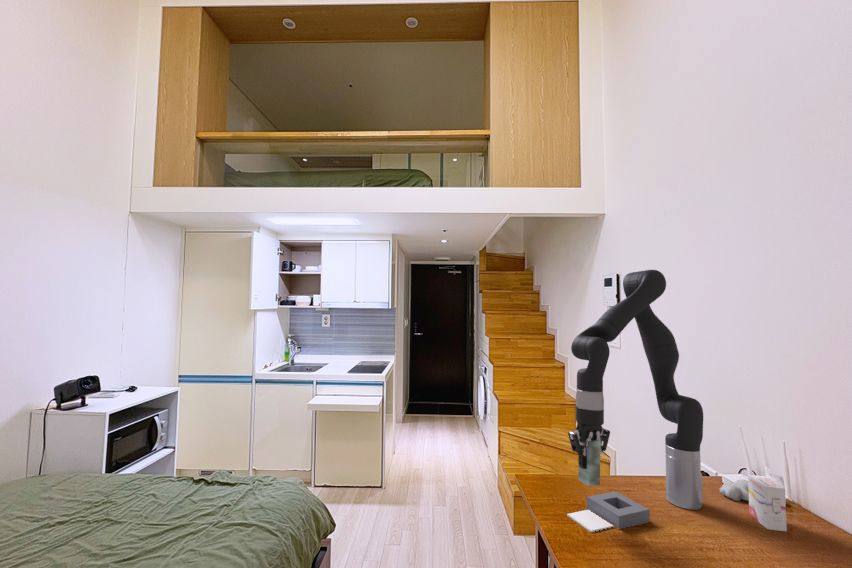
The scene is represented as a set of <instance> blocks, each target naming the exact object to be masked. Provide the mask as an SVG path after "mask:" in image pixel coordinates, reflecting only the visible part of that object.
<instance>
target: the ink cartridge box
mask: <svg viewBox="0 0 852 568" xmlns="http://www.w3.org/2000/svg"><path fill="white" fill-rule="evenodd" d="M764 474H765V476H764V475H756V474H747V481H748V488H749V501H748V513H749V515H750V517H752V518H754V520H755V521H757V522H758V523H760V524H761V525H762V527H764V528H765V529H767V530H770V531H771V530H772V531H779V532H787V531H788V530H787V529H788V527H787V510H786V507H787V504H786V489H785V483H784V481H785V480H784V477H783V476H782V475H781V474H780V473H777V472H775V471H774V470H772V469H770V468H769V467H767V466H766V465H764ZM773 475H774V476H773ZM775 477H776V478H775Z"/></svg>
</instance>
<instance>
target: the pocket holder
mask: <svg viewBox="0 0 852 568" xmlns="http://www.w3.org/2000/svg"><path fill="white" fill-rule="evenodd" d="M586 510H590V511H592V512H594V513H595V514H597V515H598V516H600V517H602V518H604V519H605V520H606V521H608V522H609V523H611V524H612V525H614V526H613V527H615V528H616V527H617V528H616V529H618V528H619V529H618V530H622V529H621V528H624V529H626V527H628V528H632V527H636V526H640V525H643V524H648V523H650V509H649V508H647V507H646V506H644V505H642V504H640V503H639V502H636V501H634V500H633V499H630V498H629V497H627V496H625V495H623V494H621V493H620V492H617V491H616V490H615V491H614V490H613V491H611V492H606V493H605V492H604V493H599V494H595V495H589V496H586ZM635 525H636V526H635ZM631 526H632V527H631Z"/></svg>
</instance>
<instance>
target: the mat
mask: <svg viewBox="0 0 852 568" xmlns="http://www.w3.org/2000/svg"><path fill="white" fill-rule="evenodd" d="M566 516H567V517H568V518H569V519H571V520H572V521H573V522H575V523H576V524H578V525H580V526H581V527H582V528H584V529H585V530H587V531H588V532H589V533H590V534H591V533H596V532H599V530H600V531H603V529H605V530H608V529H607V528H609V529H612V528H611V527H613V528H614V526H613V525H612V524H610V523H609V522H607V521H606V520H604V519H602V518H601V517H599V516H598V515H596V514H595V513H593V512H591V511H590V510H588V509H584V510H579V511H576V512H571V513H566ZM595 531H596V532H595Z"/></svg>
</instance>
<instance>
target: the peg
mask: <svg viewBox="0 0 852 568" xmlns="http://www.w3.org/2000/svg"><path fill="white" fill-rule="evenodd" d="M581 442H582V443H584V444H585V443H586V442H584V441H582V440H581ZM588 444H589V447H588V448H587V454H586V456H587V469H583V468H581V467H580V466H579V465H578V474H577V475H578V479H577V480H578V481H580V483H583V484H584V485H586V486H587V487H591V486H592V487H593V486H598V485H601V454H600V440H598V441H597V440H591V441H589V443H588ZM582 450H583V446H582Z"/></svg>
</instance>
